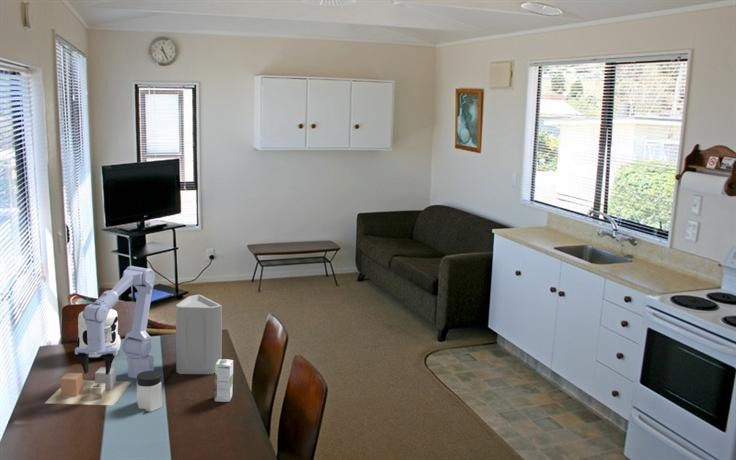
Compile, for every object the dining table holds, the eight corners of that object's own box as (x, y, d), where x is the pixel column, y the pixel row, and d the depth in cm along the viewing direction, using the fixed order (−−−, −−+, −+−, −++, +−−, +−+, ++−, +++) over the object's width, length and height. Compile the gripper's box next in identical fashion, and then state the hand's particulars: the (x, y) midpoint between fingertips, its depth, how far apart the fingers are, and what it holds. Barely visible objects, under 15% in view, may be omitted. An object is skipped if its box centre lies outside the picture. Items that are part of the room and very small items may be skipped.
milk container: (91, 344, 290) (89, 305, 287) (128, 348, 288) (127, 309, 285) (68, 359, 273) (66, 318, 270) (107, 363, 271) (106, 321, 268)
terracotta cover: (83, 389, 244) (82, 373, 243) (76, 396, 239) (76, 379, 238) (67, 389, 244) (67, 372, 243) (61, 395, 239) (60, 378, 237)
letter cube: (105, 393, 242) (105, 383, 241) (101, 398, 238) (101, 387, 237) (94, 393, 242) (94, 382, 241) (90, 398, 238) (89, 387, 237)
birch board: (131, 384, 253) (131, 381, 253) (113, 407, 234) (113, 405, 233) (68, 382, 252) (68, 379, 252) (44, 405, 233) (44, 403, 232)
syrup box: (217, 395, 247) (217, 358, 245) (233, 395, 248) (233, 359, 245) (214, 401, 242) (214, 364, 239) (230, 402, 242) (230, 365, 239)
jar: (163, 409, 234) (162, 378, 232) (139, 413, 230) (138, 381, 228) (159, 399, 242) (158, 368, 239) (135, 402, 238) (135, 371, 236)
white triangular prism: (166, 365, 272) (166, 300, 267) (199, 357, 282) (199, 294, 277) (188, 380, 259) (188, 312, 253) (222, 371, 269) (222, 305, 263)
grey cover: (116, 383, 251) (115, 367, 249) (110, 390, 245) (110, 373, 244) (101, 383, 250) (100, 367, 249) (95, 389, 245) (95, 373, 244)
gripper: (70, 340, 231) (72, 376, 234) (112, 341, 232) (113, 378, 235) (78, 333, 238) (80, 368, 241) (119, 335, 239) (120, 370, 241)
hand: (97, 372), depth 238 cm, fingers open, 7 cm apart
